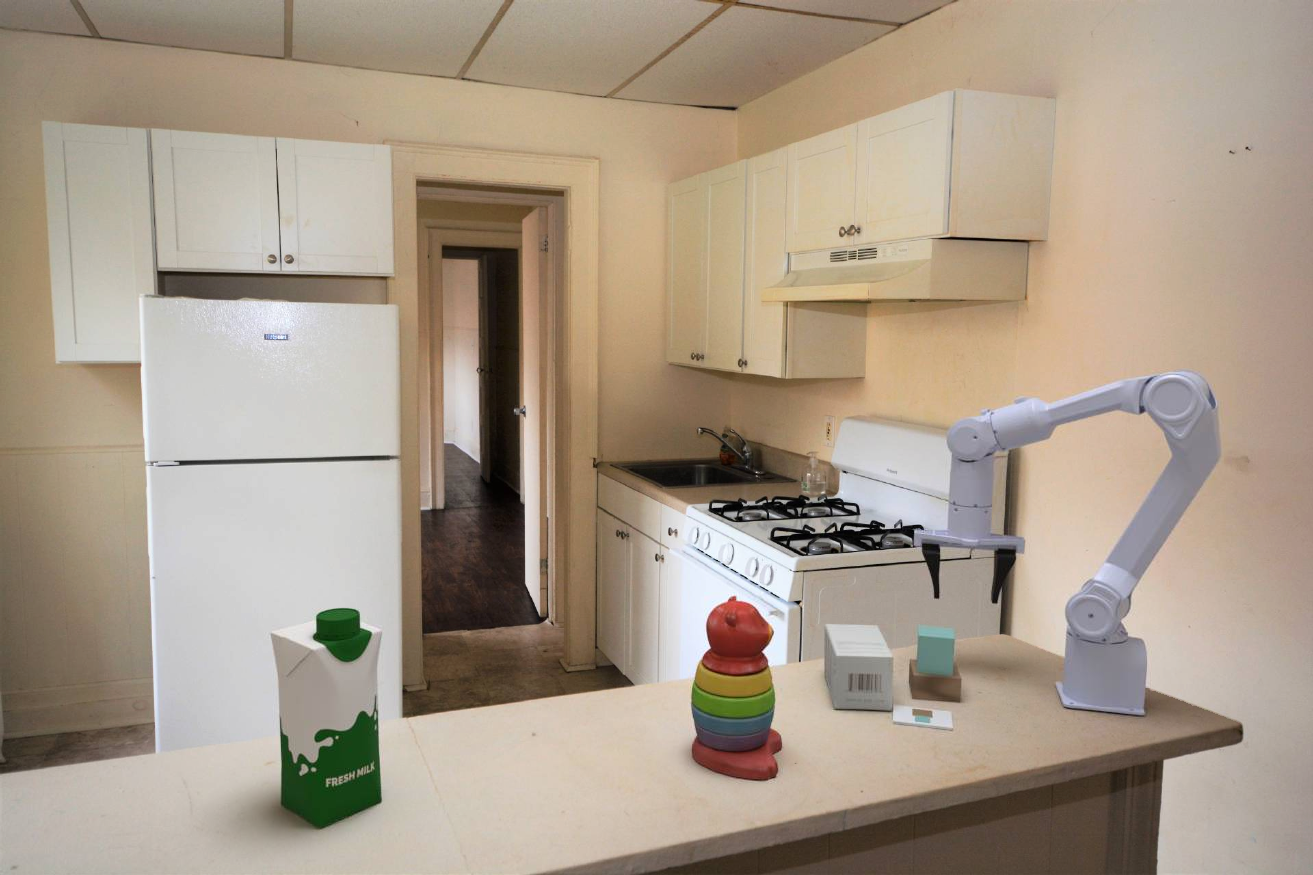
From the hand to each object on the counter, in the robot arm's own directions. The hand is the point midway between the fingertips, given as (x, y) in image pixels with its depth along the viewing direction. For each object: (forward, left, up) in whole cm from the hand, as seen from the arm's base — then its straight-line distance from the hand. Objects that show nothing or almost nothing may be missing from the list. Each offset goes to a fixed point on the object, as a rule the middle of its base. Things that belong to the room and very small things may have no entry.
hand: (965, 599), depth 132 cm
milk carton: (+63, +57, -11) cm, 86 cm away
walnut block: (+4, +9, -11) cm, 15 cm away
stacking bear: (+26, +35, -11) cm, 45 cm away
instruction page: (+6, +18, -10) cm, 22 cm away
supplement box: (+13, +19, -7) cm, 24 cm away
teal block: (+4, +9, -7) cm, 12 cm away
